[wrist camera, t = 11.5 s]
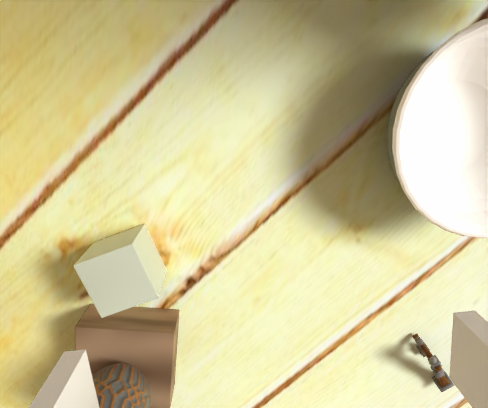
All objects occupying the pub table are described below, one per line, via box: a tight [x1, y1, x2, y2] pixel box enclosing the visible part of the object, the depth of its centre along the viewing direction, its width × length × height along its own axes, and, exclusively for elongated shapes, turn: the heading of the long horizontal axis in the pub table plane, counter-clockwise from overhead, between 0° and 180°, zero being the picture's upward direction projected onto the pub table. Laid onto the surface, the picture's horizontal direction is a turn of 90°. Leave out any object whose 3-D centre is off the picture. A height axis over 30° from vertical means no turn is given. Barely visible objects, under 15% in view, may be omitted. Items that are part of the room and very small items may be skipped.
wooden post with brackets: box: [412, 334, 454, 392], centre depth 47 cm, size 2×8×4 cm, turn 33°
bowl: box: [387, 19, 488, 238], centre depth 37 cm, size 19×19×8 cm
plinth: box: [75, 304, 179, 408], centre depth 44 cm, size 10×10×5 cm
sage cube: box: [73, 224, 167, 318], centre depth 40 cm, size 6×6×6 cm
